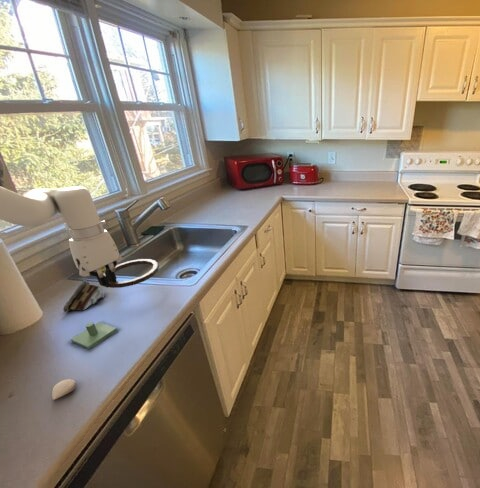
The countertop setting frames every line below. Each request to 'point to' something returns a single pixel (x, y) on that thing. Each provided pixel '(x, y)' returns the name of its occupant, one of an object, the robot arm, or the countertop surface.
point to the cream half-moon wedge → (63, 388)
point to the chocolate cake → (84, 296)
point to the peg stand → (93, 334)
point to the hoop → (136, 280)
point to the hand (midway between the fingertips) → (109, 284)
